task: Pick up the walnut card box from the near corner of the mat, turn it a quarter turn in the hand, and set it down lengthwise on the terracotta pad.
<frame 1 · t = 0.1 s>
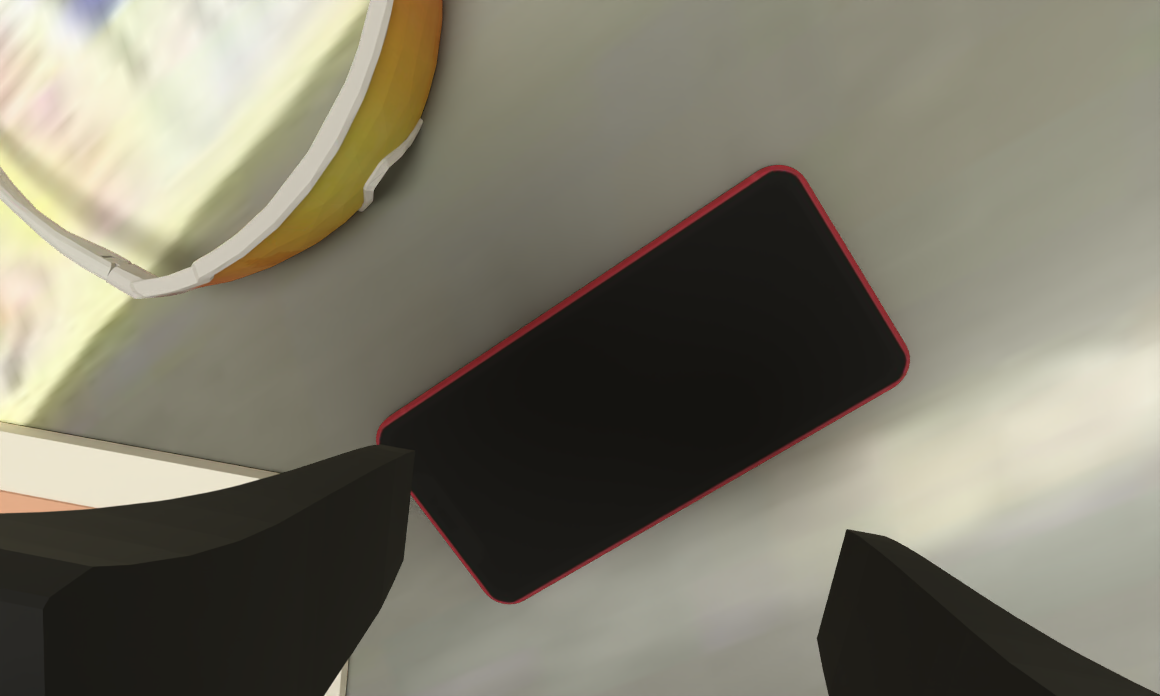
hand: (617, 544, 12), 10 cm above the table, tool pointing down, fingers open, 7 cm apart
mat: (140, 668, 25), on the table
smartphone: (631, 394, 22), on the table
sunglasses: (207, 18, 21), on the table
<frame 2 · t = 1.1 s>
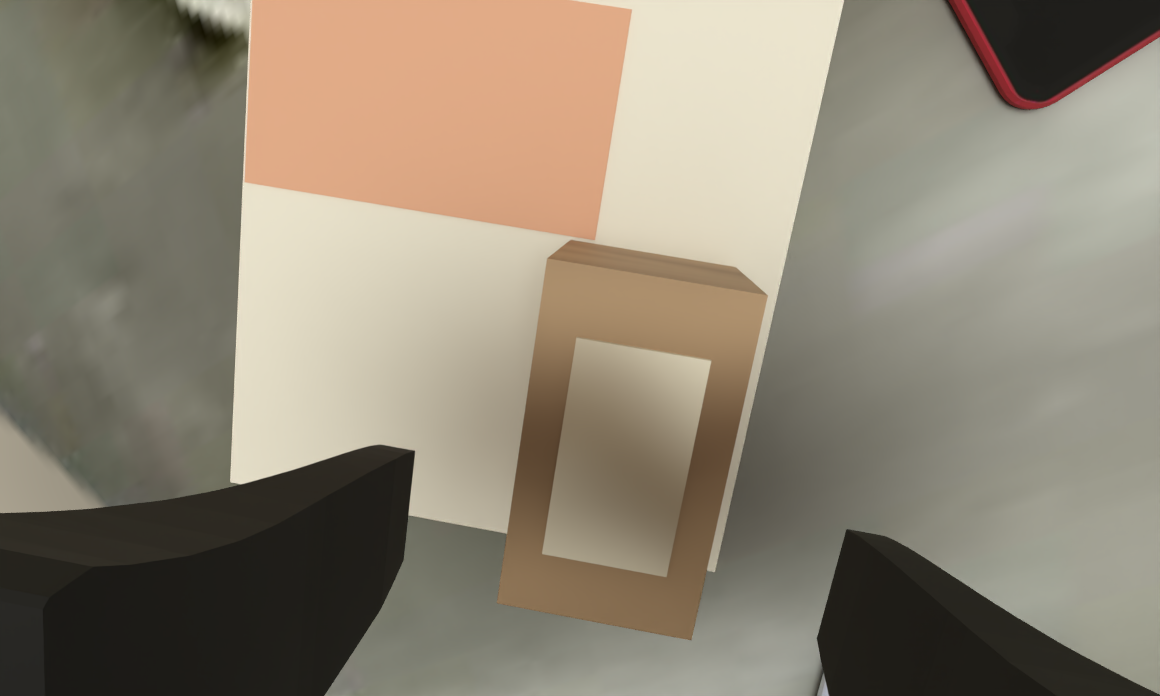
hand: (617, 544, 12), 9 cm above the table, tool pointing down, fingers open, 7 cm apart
card box: (627, 393, 20), point 1 cm above the table, touching mat
mat: (509, 245, 20), on the table
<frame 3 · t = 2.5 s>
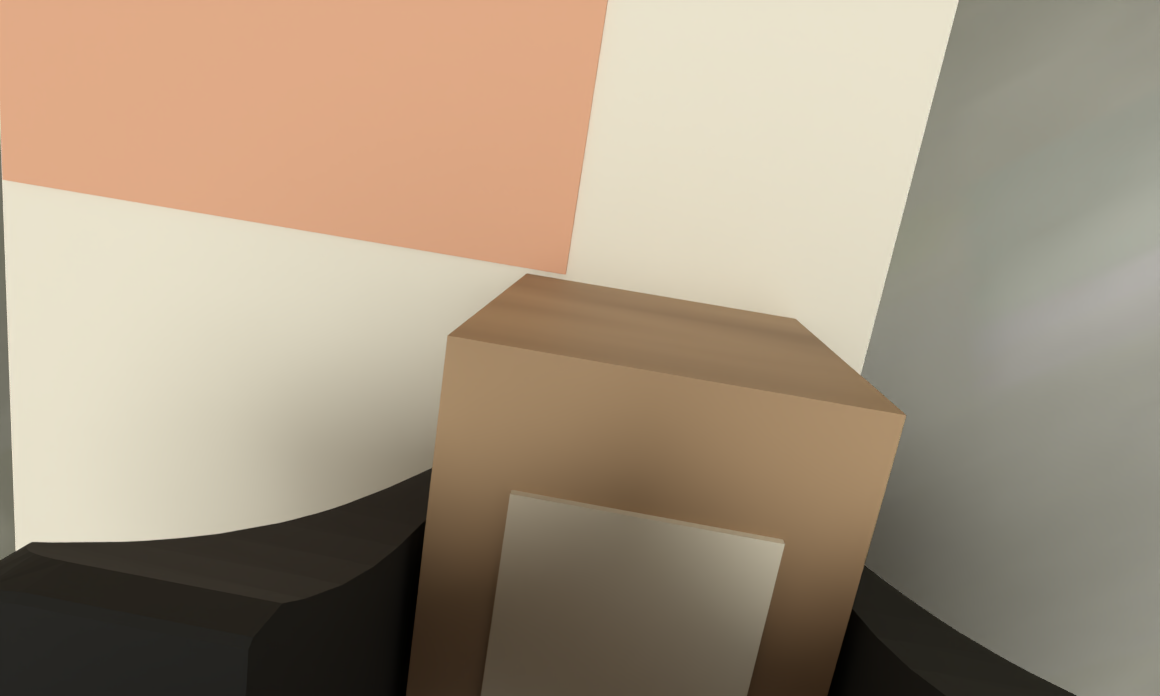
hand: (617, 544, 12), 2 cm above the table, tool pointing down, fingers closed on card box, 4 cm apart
card box: (619, 514, 13), point 1 cm above the table, touching gripper, mat
mat: (431, 280, 13), on the table
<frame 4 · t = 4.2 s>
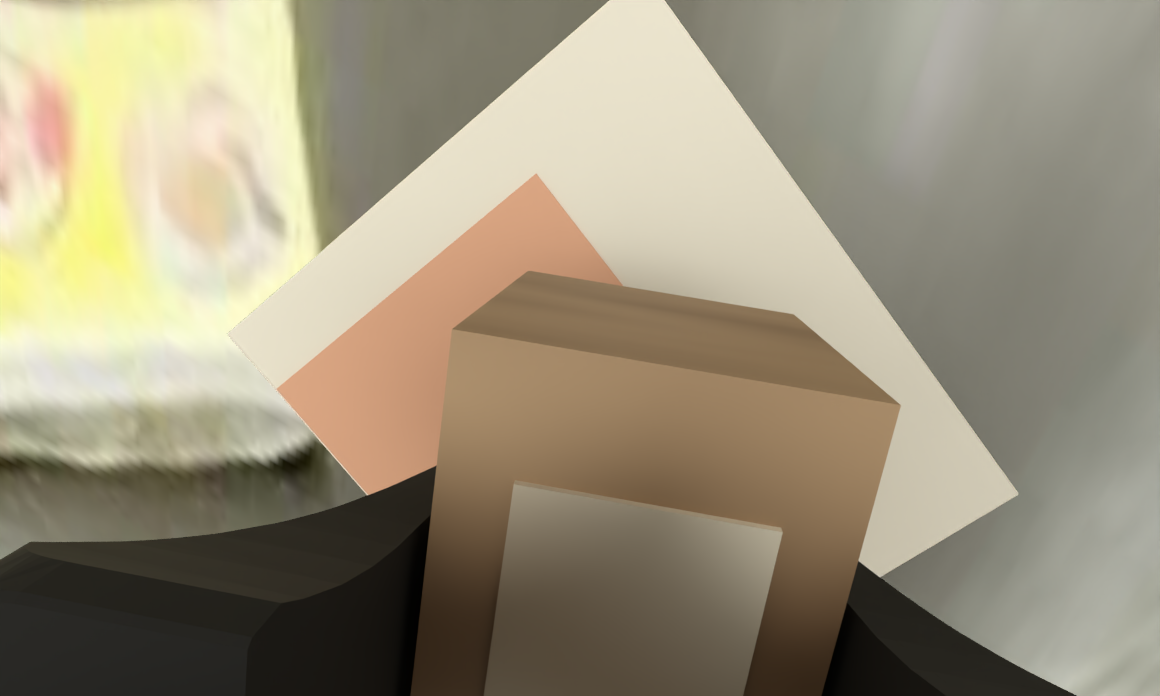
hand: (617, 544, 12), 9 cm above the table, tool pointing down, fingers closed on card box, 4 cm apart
card box: (620, 508, 13), point 8 cm above the table, touching gripper
mat: (613, 405, 20), on the table
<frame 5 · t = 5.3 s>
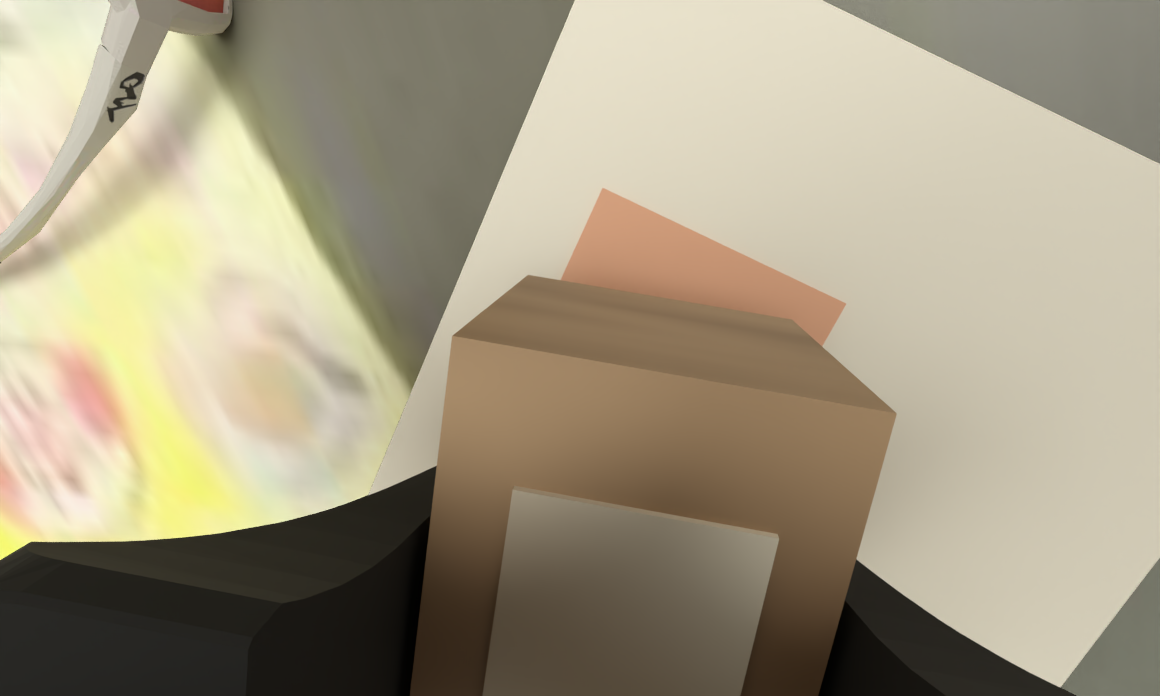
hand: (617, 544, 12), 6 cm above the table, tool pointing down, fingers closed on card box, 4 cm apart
card box: (618, 511, 13), point 4 cm above the table, touching gripper
mat: (808, 401, 16), on the table
when the fingers open (3 cm above the table, at t = 6.2 s): card box drops 1 cm, resting on mat.
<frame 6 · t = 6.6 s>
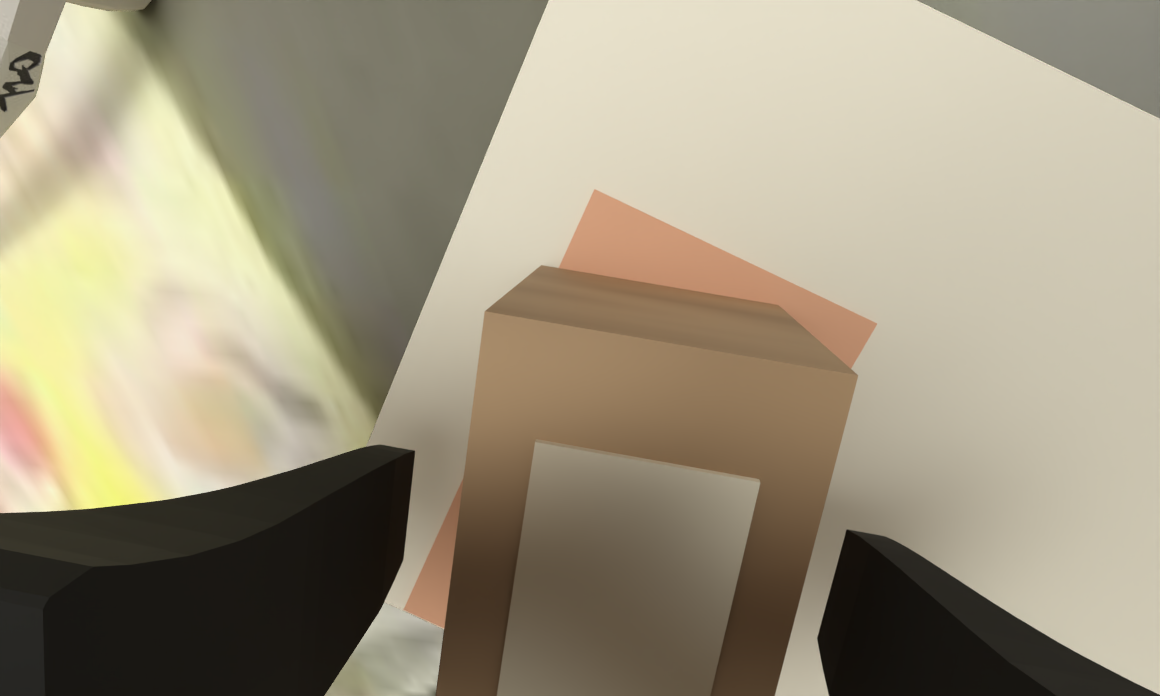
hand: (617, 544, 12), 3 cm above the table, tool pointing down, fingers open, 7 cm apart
card box: (622, 479, 14), point 1 cm above the table, touching mat
mat: (831, 434, 14), on the table
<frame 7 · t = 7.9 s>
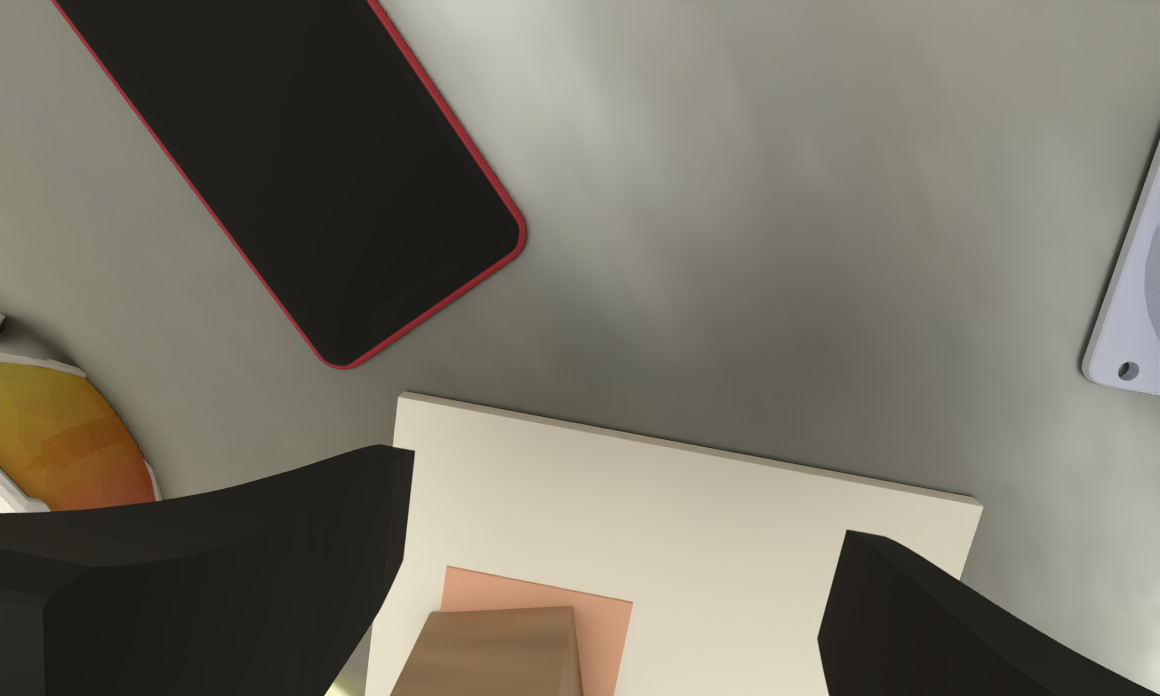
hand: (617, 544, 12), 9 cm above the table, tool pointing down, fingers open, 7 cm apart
mat: (637, 660, 23), on the table
smartphone: (288, 90, 20), on the table
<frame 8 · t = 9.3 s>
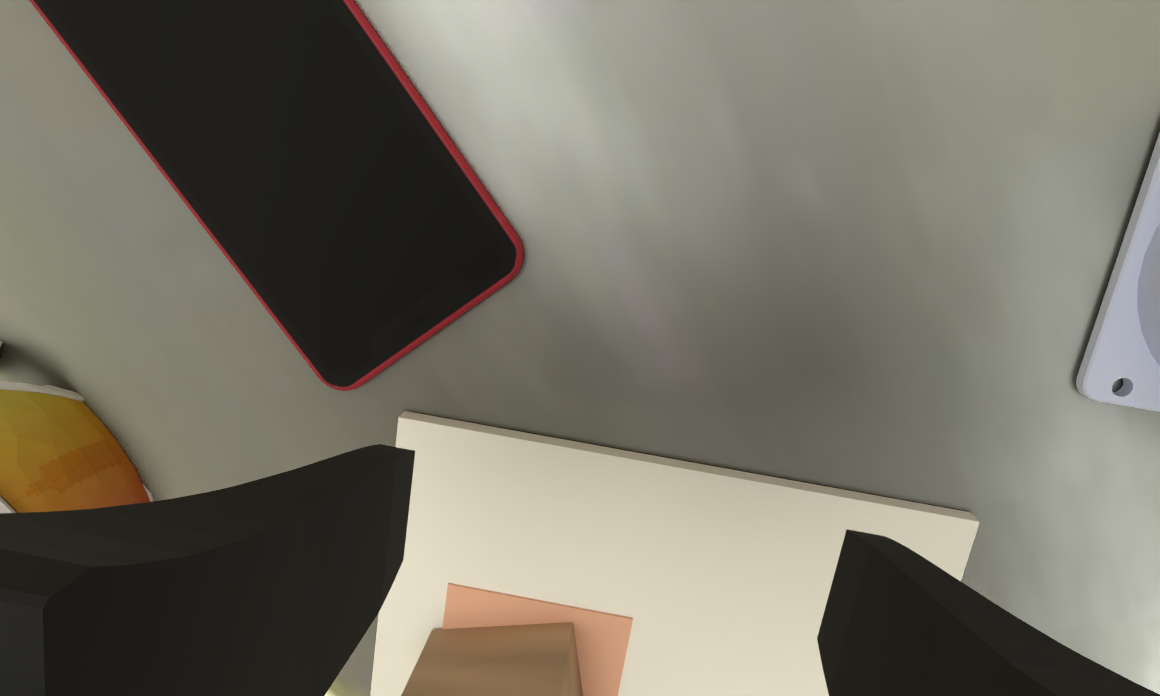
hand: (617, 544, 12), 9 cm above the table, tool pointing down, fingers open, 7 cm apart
mat: (638, 674, 23), on the table
smartphone: (287, 116, 20), on the table
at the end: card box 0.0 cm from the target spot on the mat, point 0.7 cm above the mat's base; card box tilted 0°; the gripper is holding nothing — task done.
